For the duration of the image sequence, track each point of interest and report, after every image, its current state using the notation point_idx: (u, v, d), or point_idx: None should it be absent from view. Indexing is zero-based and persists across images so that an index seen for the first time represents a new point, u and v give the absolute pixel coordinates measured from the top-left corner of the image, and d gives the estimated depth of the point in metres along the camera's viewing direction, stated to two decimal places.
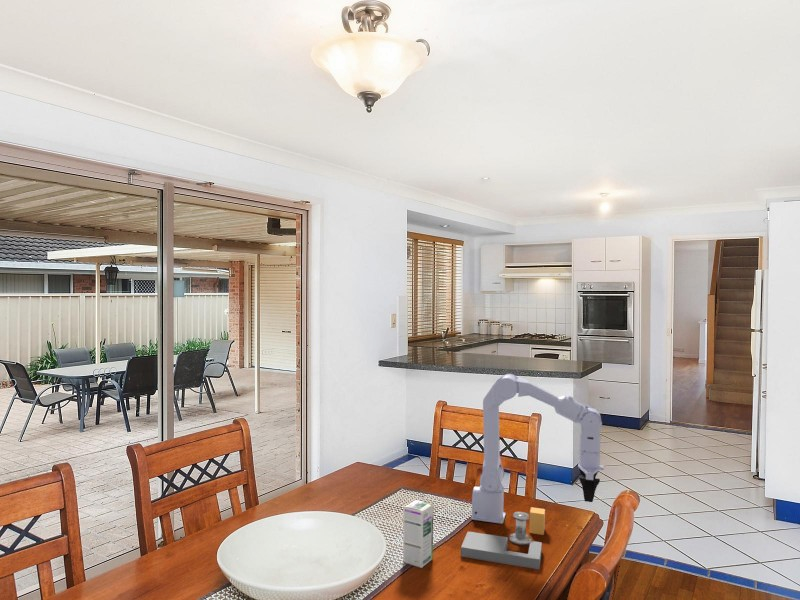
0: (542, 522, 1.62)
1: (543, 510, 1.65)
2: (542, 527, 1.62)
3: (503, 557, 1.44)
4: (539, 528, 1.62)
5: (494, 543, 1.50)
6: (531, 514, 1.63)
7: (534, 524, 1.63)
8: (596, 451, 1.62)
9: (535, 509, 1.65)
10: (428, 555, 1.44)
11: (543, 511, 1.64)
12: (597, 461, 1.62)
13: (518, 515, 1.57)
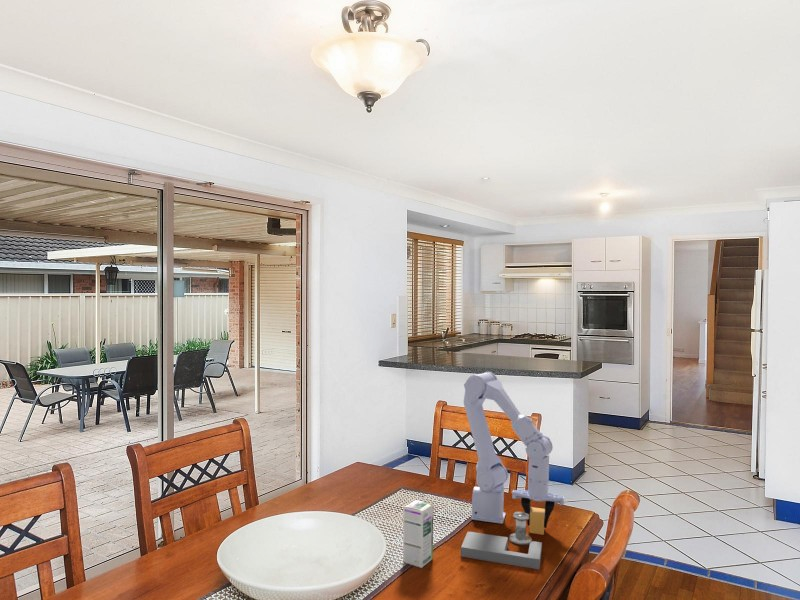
0: (542, 522, 1.62)
1: (543, 510, 1.65)
2: (542, 527, 1.62)
3: (503, 557, 1.44)
4: (539, 528, 1.62)
5: (494, 543, 1.50)
6: (531, 514, 1.63)
7: (534, 524, 1.63)
8: (541, 480, 1.61)
9: (535, 509, 1.65)
10: (428, 555, 1.44)
11: (543, 511, 1.64)
12: (531, 489, 1.63)
13: (518, 515, 1.57)
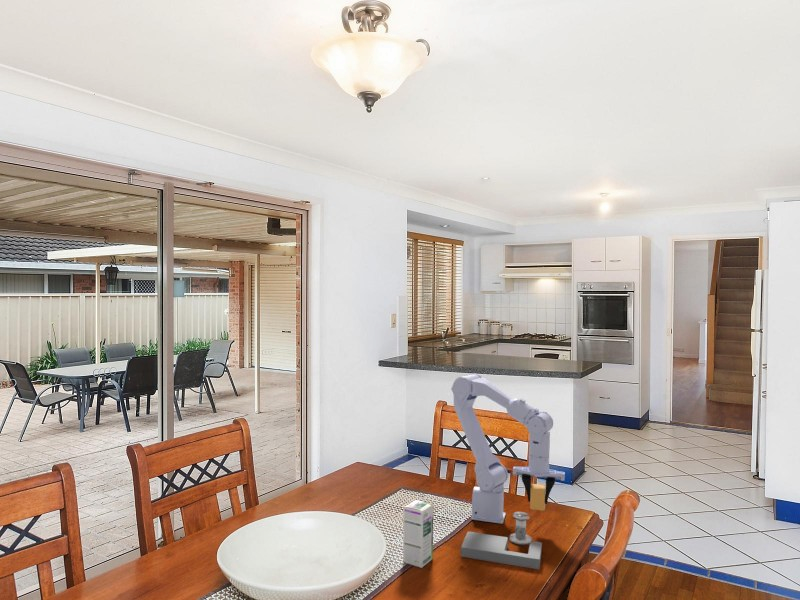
0: (543, 498, 1.62)
1: (544, 486, 1.64)
2: (543, 503, 1.62)
3: (503, 557, 1.44)
4: (540, 504, 1.62)
5: (494, 543, 1.50)
6: (532, 490, 1.63)
7: (534, 500, 1.62)
8: (542, 456, 1.61)
9: (536, 485, 1.65)
10: (428, 555, 1.44)
11: (544, 487, 1.64)
12: (531, 465, 1.62)
13: (518, 515, 1.57)
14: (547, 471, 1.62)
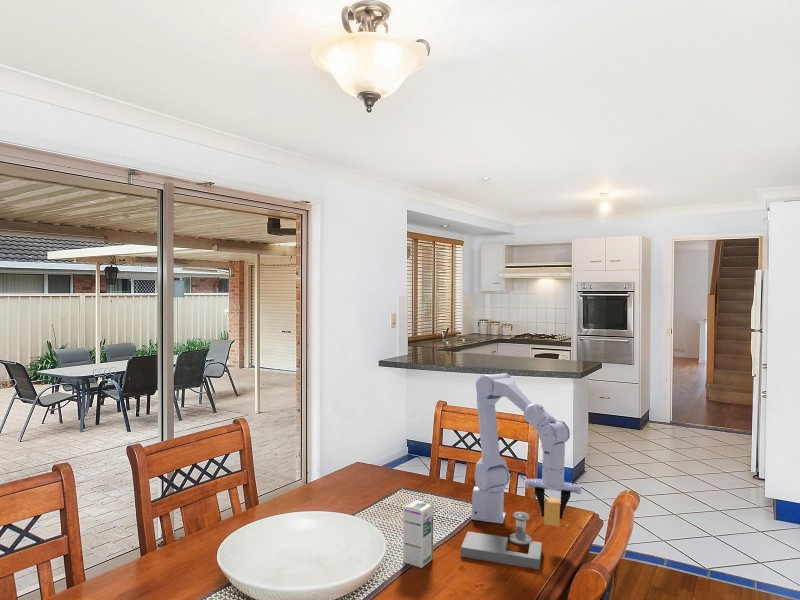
0: (557, 512, 1.51)
1: (558, 500, 1.54)
2: (557, 518, 1.51)
3: (503, 557, 1.44)
4: (554, 519, 1.52)
5: (494, 543, 1.50)
6: (546, 504, 1.52)
7: (549, 515, 1.52)
8: (553, 468, 1.51)
9: (550, 499, 1.54)
10: (428, 555, 1.44)
11: (558, 501, 1.53)
12: (545, 477, 1.52)
13: (518, 515, 1.57)
14: (562, 484, 1.51)
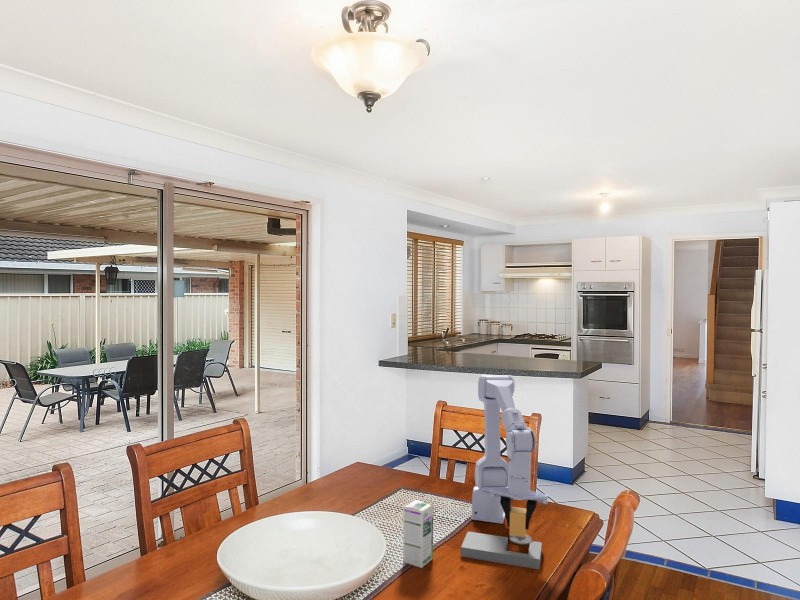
0: (523, 523, 1.46)
1: (525, 510, 1.49)
2: (523, 528, 1.46)
3: (503, 557, 1.44)
4: (520, 529, 1.47)
5: (494, 543, 1.50)
6: (511, 514, 1.47)
7: (514, 525, 1.47)
8: (513, 476, 1.46)
9: (516, 509, 1.50)
10: (428, 555, 1.44)
11: (524, 511, 1.48)
12: (511, 486, 1.47)
13: None
14: (528, 493, 1.47)
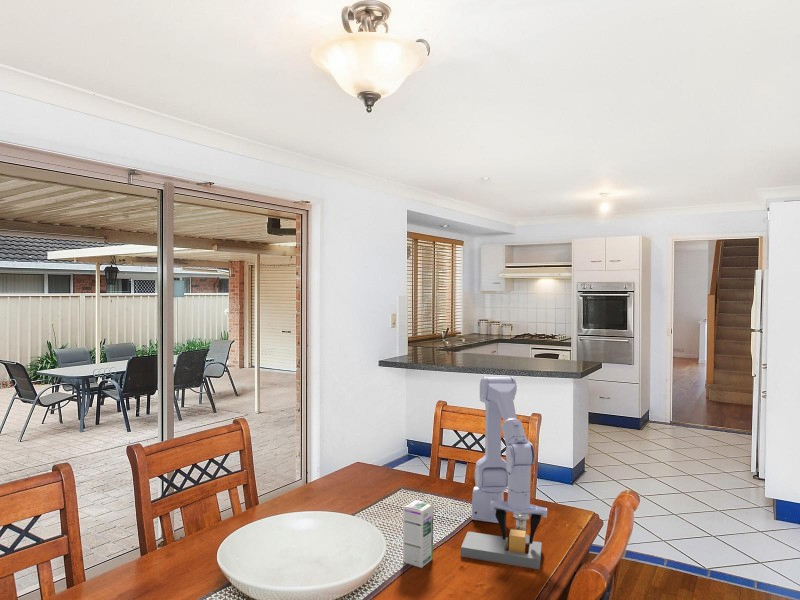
0: (522, 546, 1.47)
1: (524, 532, 1.49)
2: (522, 552, 1.47)
3: (503, 557, 1.44)
4: (519, 552, 1.47)
5: (494, 543, 1.50)
6: (510, 537, 1.47)
7: (513, 548, 1.47)
8: (513, 489, 1.46)
9: (515, 531, 1.50)
10: (428, 555, 1.44)
11: (524, 534, 1.48)
12: (510, 500, 1.47)
13: (518, 515, 1.57)
14: (528, 507, 1.47)
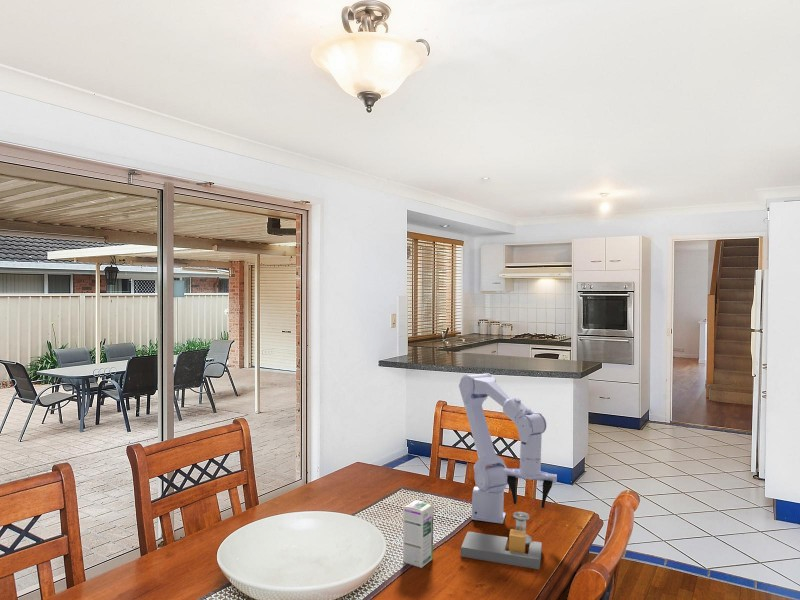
0: (522, 546, 1.47)
1: (524, 532, 1.49)
2: (522, 552, 1.47)
3: (503, 557, 1.44)
4: (519, 552, 1.47)
5: (494, 543, 1.50)
6: (510, 537, 1.47)
7: (513, 548, 1.47)
8: (529, 458, 1.57)
9: (515, 531, 1.50)
10: (428, 555, 1.44)
11: (524, 534, 1.48)
12: (522, 467, 1.58)
13: (518, 515, 1.57)
14: (538, 473, 1.58)
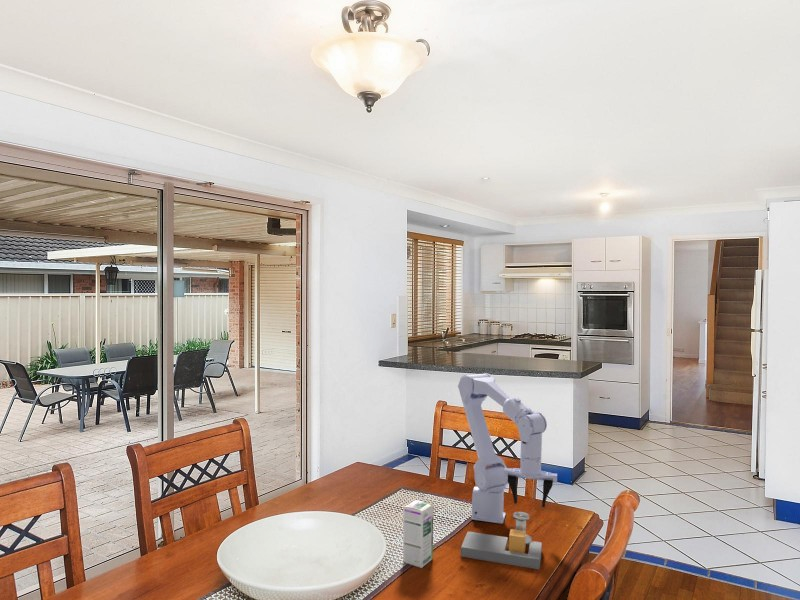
0: (522, 546, 1.47)
1: (524, 532, 1.49)
2: (522, 552, 1.47)
3: (503, 557, 1.44)
4: (519, 552, 1.47)
5: (494, 543, 1.50)
6: (510, 537, 1.47)
7: (513, 548, 1.47)
8: (530, 457, 1.57)
9: (515, 531, 1.50)
10: (428, 555, 1.44)
11: (524, 534, 1.48)
12: (523, 466, 1.58)
13: (518, 515, 1.57)
14: (539, 473, 1.58)
